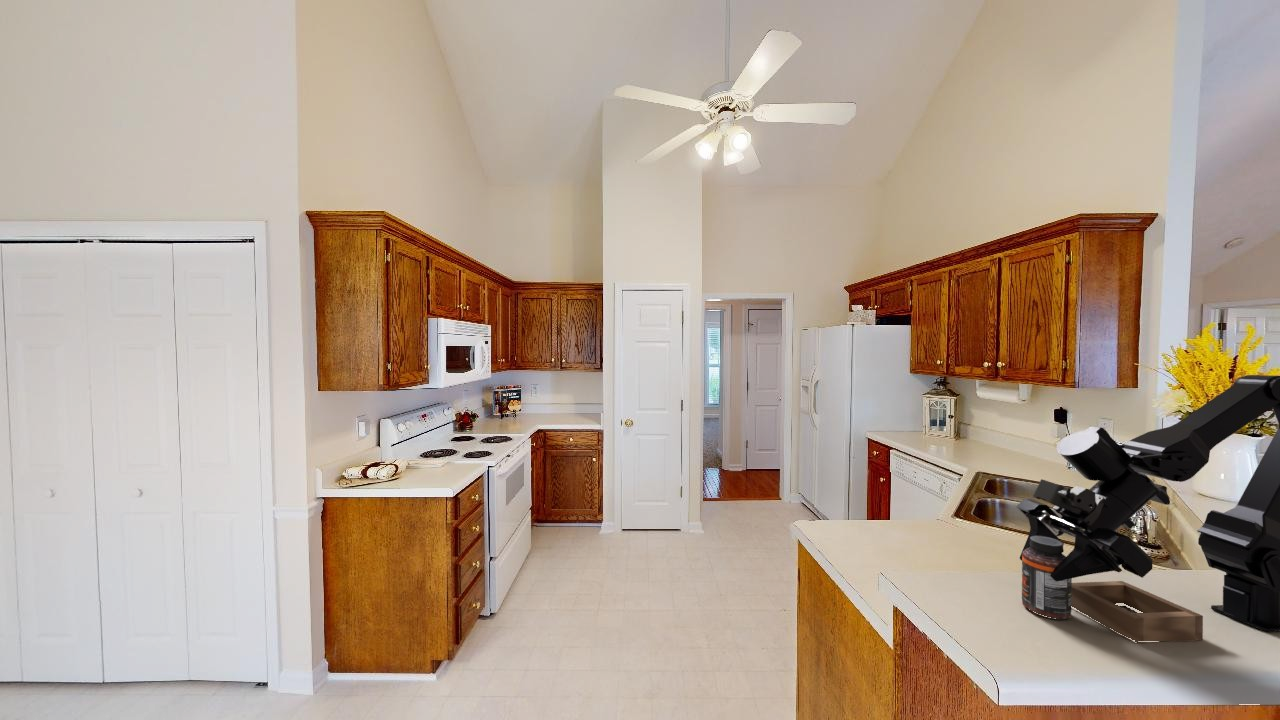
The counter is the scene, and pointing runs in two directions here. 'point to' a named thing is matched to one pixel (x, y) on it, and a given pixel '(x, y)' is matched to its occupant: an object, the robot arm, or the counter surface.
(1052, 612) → the supplement bottle
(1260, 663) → the counter surface
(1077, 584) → the socket collar
